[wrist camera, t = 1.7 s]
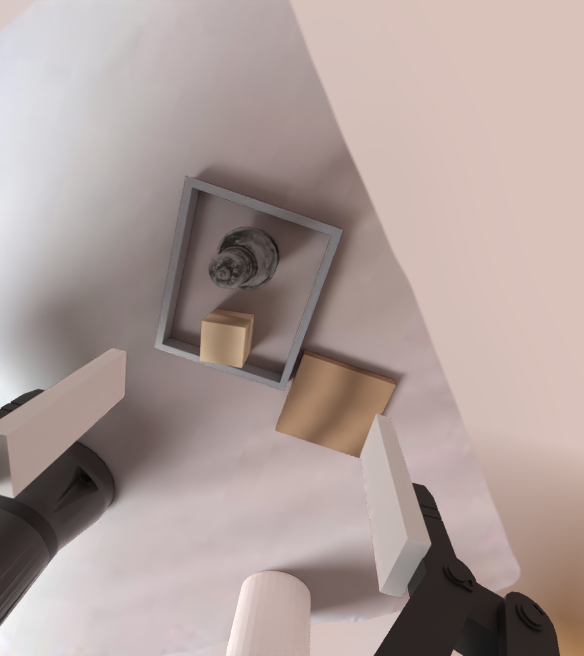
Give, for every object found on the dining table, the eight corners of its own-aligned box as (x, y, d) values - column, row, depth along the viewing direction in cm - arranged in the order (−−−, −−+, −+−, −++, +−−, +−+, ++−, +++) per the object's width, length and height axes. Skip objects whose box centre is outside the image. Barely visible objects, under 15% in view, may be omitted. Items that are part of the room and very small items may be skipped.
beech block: (213, 344, 38) (199, 360, 34) (215, 308, 36) (201, 320, 32) (250, 350, 38) (241, 367, 34) (254, 314, 36) (245, 328, 32)
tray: (162, 341, 38) (154, 347, 36) (193, 177, 32) (185, 175, 30) (286, 382, 39) (284, 391, 37) (341, 229, 32) (343, 230, 30)
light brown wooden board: (276, 424, 41) (275, 430, 40) (304, 349, 37) (303, 354, 36) (358, 451, 41) (359, 458, 40) (394, 380, 37) (396, 385, 36)
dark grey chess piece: (278, 285, 35) (257, 320, 24) (225, 278, 35) (179, 309, 24) (284, 229, 33) (265, 238, 22) (228, 222, 33) (179, 226, 22)
